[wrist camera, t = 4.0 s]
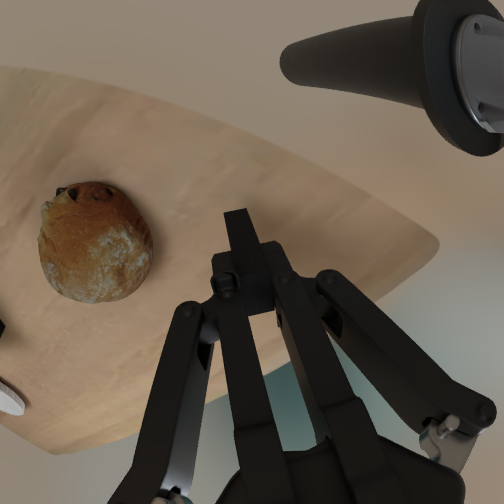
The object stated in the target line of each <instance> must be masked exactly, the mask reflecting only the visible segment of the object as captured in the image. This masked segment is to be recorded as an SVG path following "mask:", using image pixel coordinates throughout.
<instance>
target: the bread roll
mask: <svg viewBox="0 0 504 504" xmlns="http://www.w3.org/2000/svg"><path fill="white" fill-rule="evenodd" d="M52 201H53V203H52V202H49V201H45V203H44V204H43V205H42V206H41V216H42V227H41V229H40V232H41V234H40V235H39V236H38V239H37V240H38V247H39V254H40V261H41V265H42V268H43V271H44V274H45V276H46V278H47V280H48V282H49V283H50V284H51V286H52V287H53V288H54V289H55V290H56V291H57V292H58V293H60V294H61V295H63V296H64V297H67V298H70V299H73V300H76V301H80V302H84V303H90V304H93V303H100V302H112V301H117V300H120V299H123V298H125V297H127V296H128V295H130V294H132V293H133V292H134V291H135V290H136V289H138V288H139V286H140V285H141V284H142V283H143V281H144V280H145V278H146V277H147V275H148V273H149V270H150V268H151V264H152V259H153V242H152V237H151V233H150V231H149V228H148V226H147V224H146V223H145V221H144V219H143V217H142V216H141V215H140V214H139V212H138V210H137V209H136V208H135V207H134V205H133V204H132V203H131V202H130V200H129V199H128V198H127V197H126V196H125V195H124V194H122V193H120V192H119V191H118V190H116V189H114V188H112V187H109V186H106V185H103V184H101V183H98V182H88V183H77V184H74V185H71V186H69V187H66V188H57V191H56V197H55V198H53V199H52Z"/></svg>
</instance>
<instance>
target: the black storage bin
mask: <svg viewBox="0 0 504 504" xmlns="http://www.w3.org/2000/svg"><path fill="white" fill-rule="evenodd" d="M5 327H6V326H5V325H4V324H3V322H2V321H1V320H0V338H1V335H2V333H3V331H4V329H5Z"/></svg>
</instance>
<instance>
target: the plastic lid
mask: <svg viewBox="0 0 504 504" xmlns="http://www.w3.org/2000/svg"><path fill="white" fill-rule="evenodd" d="M24 409H25V404H24V403H23V401H22V400H21V398H19V396H18V395H17V394H16V393H14V391H12V390H11V389H9V387H7V386H6V385H4V384H3V383H1V382H0V410H1V411H4V412H6V413H9V414H12V415H17V416H18V415H19V416H21V415H23V414H24Z"/></svg>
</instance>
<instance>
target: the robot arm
mask: <svg viewBox="0 0 504 504" xmlns="http://www.w3.org/2000/svg"><path fill="white" fill-rule="evenodd" d="M449 63H450V71H451V77H452V82H453V86H454V89H455V93H456V95H457V98H458V100H459V103H460V105H461V107H462V109H463V111H464V112H465V114H466V115H467V117H468V118H469V119H470V120H471V121H472V122H473V123H474V124H475V125H477V126H478V127H480V128H483V129H485V130H487V131H488V132H494V133H504V22H502V21H499V20H497V19H495V18H492V17H490V16H487V15H483V14H467V15H464V16H462V17H461V18H460V19H459V20H458V21H457V22H456V24H455V25H454V27H453V30H452V33H451V37H450V45H449ZM223 214H224V218H225V223H226V228H227V233H228V238H229V243H230V247H231V251H227V252H222V253H217V254H214V256H213V258H212V260H211V261H212V270H213V276H212V277H211V280H210V282H211V286H212V289H213V292H214V294H213V296H212V297H211V298H210V299H209V300H207V301H205V302H203V303H201V304H200V303H198V302H196V301H186V302H184V303H181V304H180V305H179V306H178V307H177V308H176V310H175V312H174V315H173V318H172V321H171V325H170V328H169V331H168V334H167V337H166V340H165V344H164V347H163V350H162V354H161V357H160V360H159V364H158V367H157V371H156V374H155V377H154V381H153V385H152V388H151V392H150V395H149V399H148V403H147V406H146V410H145V414H144V418H143V422H142V426H141V429H140V433H139V437H138V442H137V446H136V450H135V454H134V459H133V463H132V467H131V468H130V470H129V471H128V473H127V475H126V476H125V477H124V479H123V480H122V482H121V483H120V485H119V486H118V488H117V489H116V491H115V492H114V494H113V495H112V497H111V498H110V500H109V501H108V503H107V504H193V503H192V501H191V500H190V499H189V498H187V496H188V493H189V490H190V487H191V484H192V480H193V475H194V468H195V461H196V455H197V447H198V441H199V435H200V428H201V422H202V415H203V409H204V403H205V397H206V391H207V385H208V379H209V373H210V367H211V361H212V355H213V350H214V342H216V341H218V340H220V342H221V349H222V355H223V362H224V368H225V375H226V381H227V387H228V393H229V399H230V405H231V411H232V417H233V422H234V440H235V445H236V451H237V456H238V461H239V466H240V469H239V470H238V471H237V472H236V473H235V474H234V475H233V476H232V478H231V479H230V480H229V482H228V483H227V485H226V487H225V488H224V490H223V492H222V493H221V495H220V497H219V498H218V500H217V501H216V503H215V504H464V499H465V484H464V481H463V479H462V477H461V476H460V472H461V471H462V469H463V467H464V465H465V463H466V461H467V459H468V457H469V454H470V453H471V450H472V448H473V446H474V444H475V442H476V439H477V437H478V435H479V434H480V433H481V432H482V431H484V430H485V429H487V428H488V427H489V426H490V425H491V424H493V422H494V420H495V419H496V414H497V410H496V406H495V404H494V402H493V401H492V400H490V399H489V398H487V397H485V396H483V395H481V394H479V393H477V392H475V391H473V390H471V389H469V388H467V387H465V386H463V385H461V384H459V383H457V382H455V381H453V380H452V379H451V378H450V377H449V376H448V375H447V374H446V373H445V372H444V371H443V370H442V369H441V368H440V367H439V366H438V365H437V364H436V363H435V362H434V361H433V360H432V359H431V358H430V357H429V356H428V355H427V354H426V353H425V352H424V351H423V350H422V349H421V348H420V347H419V346H418V345H417V344H416V343H415V342H414V341H413V340H412V339H411V338H410V337H409V336H408V335H407V334H406V333H405V332H404V331H403V330H402V329H401V328H399V326H397V325H396V324H395V323H394V322H393V321H392V320H391V319H390V318H389V317H388V316H387V315H386V314H385V313H384V312H383V311H382V310H380V309H379V308H378V307H377V306H376V305H375V304H374V303H373V302H372V301H371V300H370V299H369V298H368V297H366V296H365V295H364V294H363V293H362V292H361V291H360V290H359V289H358V288H357V287H355V286H354V285H353V284H352V283H351V282H350V281H349V280H348V279H347V278H345V277H344V276H343V275H342V274H341V273H340V272H338V271H336V270H332V269H326V270H323V271H321V272H319V273H318V274H317V276H316V278H305V277H301V276H299V275H298V274H297V272H295V271H293V269H292V267H291V265H290V263H289V261H288V259H287V257H286V255H285V253H284V251H283V248H282V246H281V245H280V244H279V243H278V242H276V241H271V242H266V243H261V244H260V242H259V240H258V237H257V235H256V232H255V229H254V227H253V224H252V222H251V219H250V216H249V214H248V211H247V209H246V208H244V209H239V210H234V211H229V212H224V213H223ZM274 306H275V309H276V315H277V324H278V327H280V329H281V332H282V335H283V338H284V341H285V344H286V347H287V350H288V353H289V356H290V359H291V362H292V365H293V368H294V371H295V374H296V377H297V380H298V383H299V386H300V389H301V392H302V395H303V398H304V401H305V404H306V407H307V410H308V413H309V416H310V419H311V422H312V425H313V429H314V432H315V438H316V443H317V445H316V446H315V447H313V448H311V449H309V450H306V451H283V450H282V446H281V442H280V438H279V435H278V431H277V427H276V424H275V421H274V417H273V413H272V410H271V406H270V402H269V398H268V394H267V390H266V387H265V383H264V379H263V375H262V371H261V367H260V363H259V359H258V355H257V351H256V347H255V343H254V339H253V335H252V331H251V327H250V323H249V319H248V316H252V315H257V314H261V313H265V312H270V311H274V310H275V309H274ZM325 330H326V331H327V332H328V333H329V335H330V336H331V337H332V338H333V339H334V340H335V342H336V343H337V344H338V345H339V346H340V347H341V349H342V350H343V351H344V352H345V353H346V355H347V356H348V357H349V358H350V359H351V360H352V362H353V363H354V364H355V365H356V366H357V367H358V369H359V370H360V371H361V372H362V373H363V374H364V376H365V377H366V378H367V379H368V380H369V381H370V383H371V384H372V385H373V386H374V387H375V388H376V390H377V391H378V392H379V393H380V394H381V395H382V397H383V398H384V399H385V400H386V401H387V403H388V404H389V405H390V406H391V407H392V408H393V410H394V411H395V412H396V413H397V414H398V416H399V417H400V418H401V419H402V420H403V421H404V422H405V423H406V424H407V425H408V426H409V427H410V428H411V429H412V430H414V431H415V432H416V433H418V434H420V437H419V442H420V447H421V449H422V450H425V452H426V453H427V454H428V456H429V458H430V459H428V458H426V457H424V456H422V455H419V454H417V453H415V452H413V451H411V450H409V449H407V448H405V447H403V446H401V445H399V444H397V443H394V442H393V441H391V440H389V439H387V438H385V437H383V436H380V435H378V434H377V432H376V429H375V427H374V425H373V422H372V420H371V418H370V416H369V413H368V411H367V409H366V407H365V404H364V403H363V401H362V399H360V397H357V396H356V395H355V394H354V393H353V390H352V388H351V386H350V383H349V381H348V379H347V377H346V374H345V372H344V370H343V368H342V366H341V363H340V361H339V359H338V357H337V355H336V352H335V350H334V348H333V346H332V344H331V341H330V339H329V337H328V335H327V333H326V331H325Z"/></svg>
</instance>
